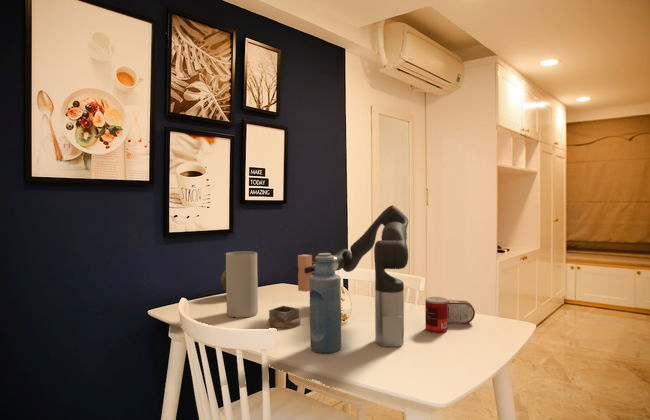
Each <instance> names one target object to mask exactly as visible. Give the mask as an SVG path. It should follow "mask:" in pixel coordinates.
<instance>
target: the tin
mask: <svg viewBox="0 0 650 420" xmlns="http://www.w3.org/2000/svg"><path fill="white" fill-rule="evenodd" d="M447 300H448V324H454V323H456V324H457V323H458V324H459V323H460V324H459V325H462V324H463V325H464V324H465V325H466V324H470V323H471V322H472V321H473V320H474V318H475V315H476V311H475V309H474V306H473V305H472V304H471V303H470V302H469V301H467V300H453V299H447ZM458 324H457V325H458Z"/></svg>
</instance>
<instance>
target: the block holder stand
mask: <svg viewBox="0 0 650 420" xmlns="http://www.w3.org/2000/svg"><path fill="white" fill-rule="evenodd" d="M267 323H268V324H269V325H270V326H271V327H270V326H269V325H268V326H269V327H270V328H272V327H274V328H273V329H276V328H277V329H278V328H283V329H282V330H288V329H287V328H289V329H294V328H297V327H299V326H300V325H301V317H300V308H297V307H293V306H288V305H287V306H286V305H280V306H279V307H274V308H272V309H269V310H268V321H267ZM284 328H285V329H284ZM277 329H276V330H277Z"/></svg>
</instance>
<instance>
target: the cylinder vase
mask: <svg viewBox="0 0 650 420" xmlns="http://www.w3.org/2000/svg"><path fill="white" fill-rule="evenodd" d="M225 270H226V291H225V292H226V293H225V294H226V315H227V316H228V317H230V318H233V317H235V319H245V317H246V318H250V317H251V318H252V317H254V316H255V315H257V314H258V311H259V310H258V309H259V304H258V303H259V302H258V300H259V299H258V297H259V293H258V291H259V290H258V289H259V288H258V285H259V284H258V252H256V251H252V250H251V251H247V250H246V251H245V250H242V251H231V252H230V251H229V252H226V253H225Z"/></svg>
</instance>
